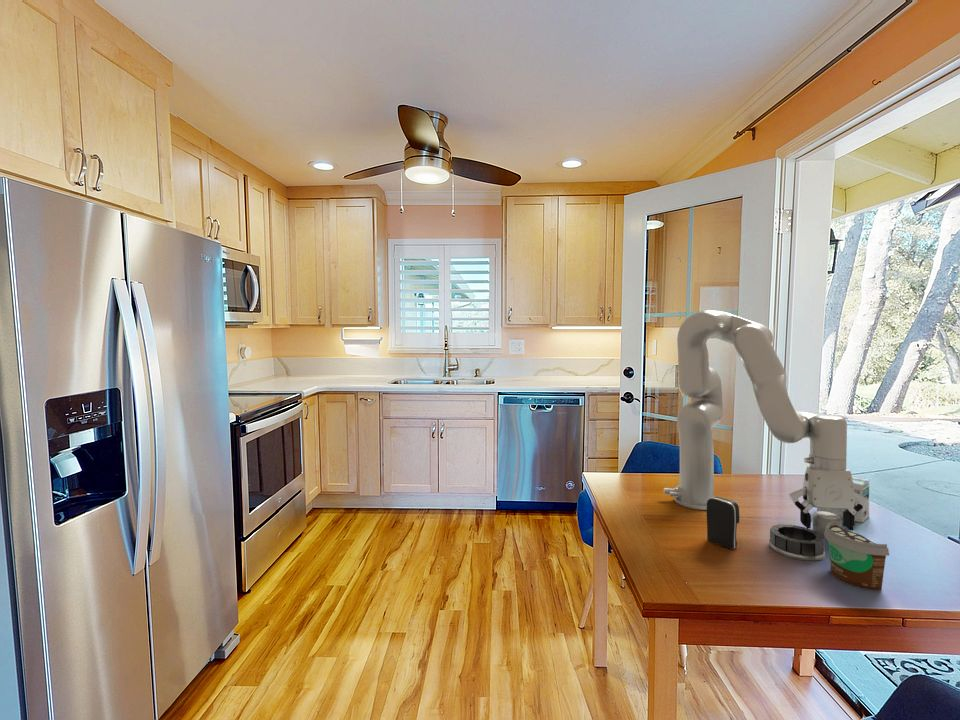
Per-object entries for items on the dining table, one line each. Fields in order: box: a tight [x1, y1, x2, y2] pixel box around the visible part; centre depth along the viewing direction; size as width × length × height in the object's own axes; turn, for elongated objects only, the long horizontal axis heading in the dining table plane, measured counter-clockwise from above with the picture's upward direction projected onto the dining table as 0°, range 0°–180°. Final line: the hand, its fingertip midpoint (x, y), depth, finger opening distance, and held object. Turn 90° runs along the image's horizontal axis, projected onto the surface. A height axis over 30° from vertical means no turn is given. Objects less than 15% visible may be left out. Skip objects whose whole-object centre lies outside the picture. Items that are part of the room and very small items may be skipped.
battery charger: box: [706, 496, 740, 550], centre depth 112 cm, size 7×4×11 cm, turn 33°
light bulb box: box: [816, 476, 870, 523], centre depth 128 cm, size 11×7×11 cm, turn 37°
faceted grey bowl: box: [769, 523, 826, 562], centre depth 108 cm, size 11×11×4 cm
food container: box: [824, 521, 890, 591], centre depth 95 cm, size 12×6×10 cm, turn 5°
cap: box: [812, 511, 843, 538], centre depth 116 cm, size 6×6×5 cm
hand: (826, 527), depth 116 cm, fingers open, 9 cm apart
